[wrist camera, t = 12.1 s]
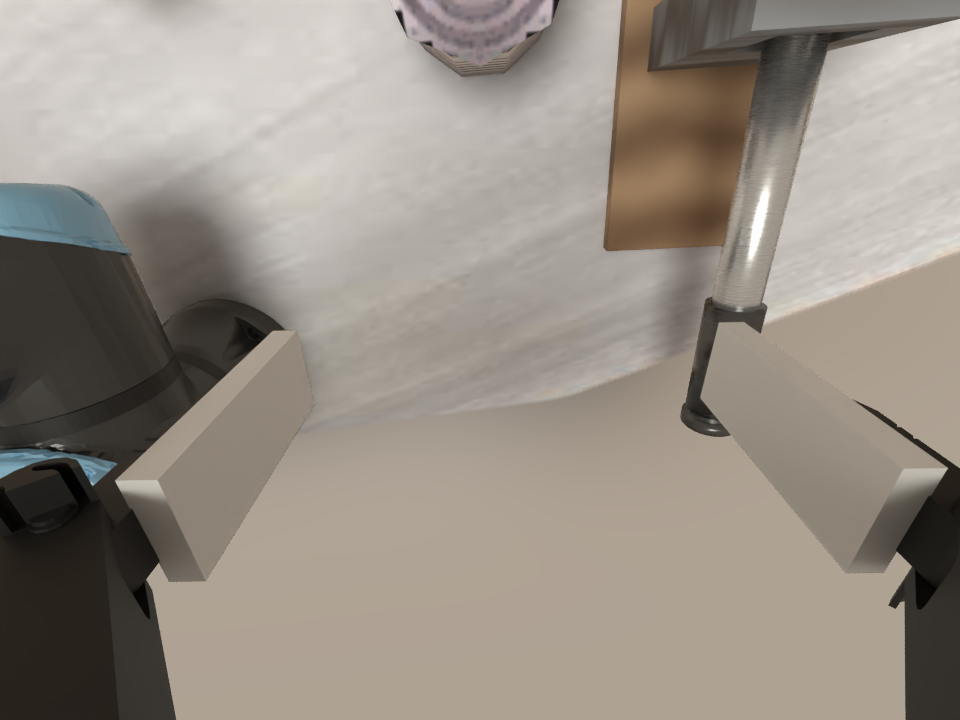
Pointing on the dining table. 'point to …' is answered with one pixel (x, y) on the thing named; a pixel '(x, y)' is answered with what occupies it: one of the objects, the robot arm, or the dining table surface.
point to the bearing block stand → (709, 102)
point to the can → (475, 30)
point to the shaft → (758, 200)
